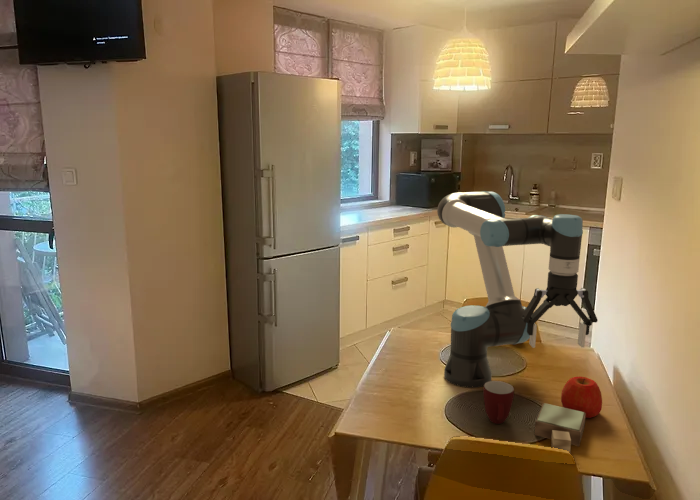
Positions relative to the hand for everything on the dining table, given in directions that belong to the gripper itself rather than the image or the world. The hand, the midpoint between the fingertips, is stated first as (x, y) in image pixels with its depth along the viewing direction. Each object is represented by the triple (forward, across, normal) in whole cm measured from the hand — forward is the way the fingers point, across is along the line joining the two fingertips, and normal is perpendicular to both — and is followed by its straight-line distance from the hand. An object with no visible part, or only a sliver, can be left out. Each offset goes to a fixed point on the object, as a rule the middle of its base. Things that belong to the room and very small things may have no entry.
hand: (556, 345), depth 148 cm
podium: (+20, -1, -10) cm, 23 cm away
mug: (+20, -17, -6) cm, 27 cm away
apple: (+20, +8, -1) cm, 22 cm away
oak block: (+20, -4, -19) cm, 28 cm away
